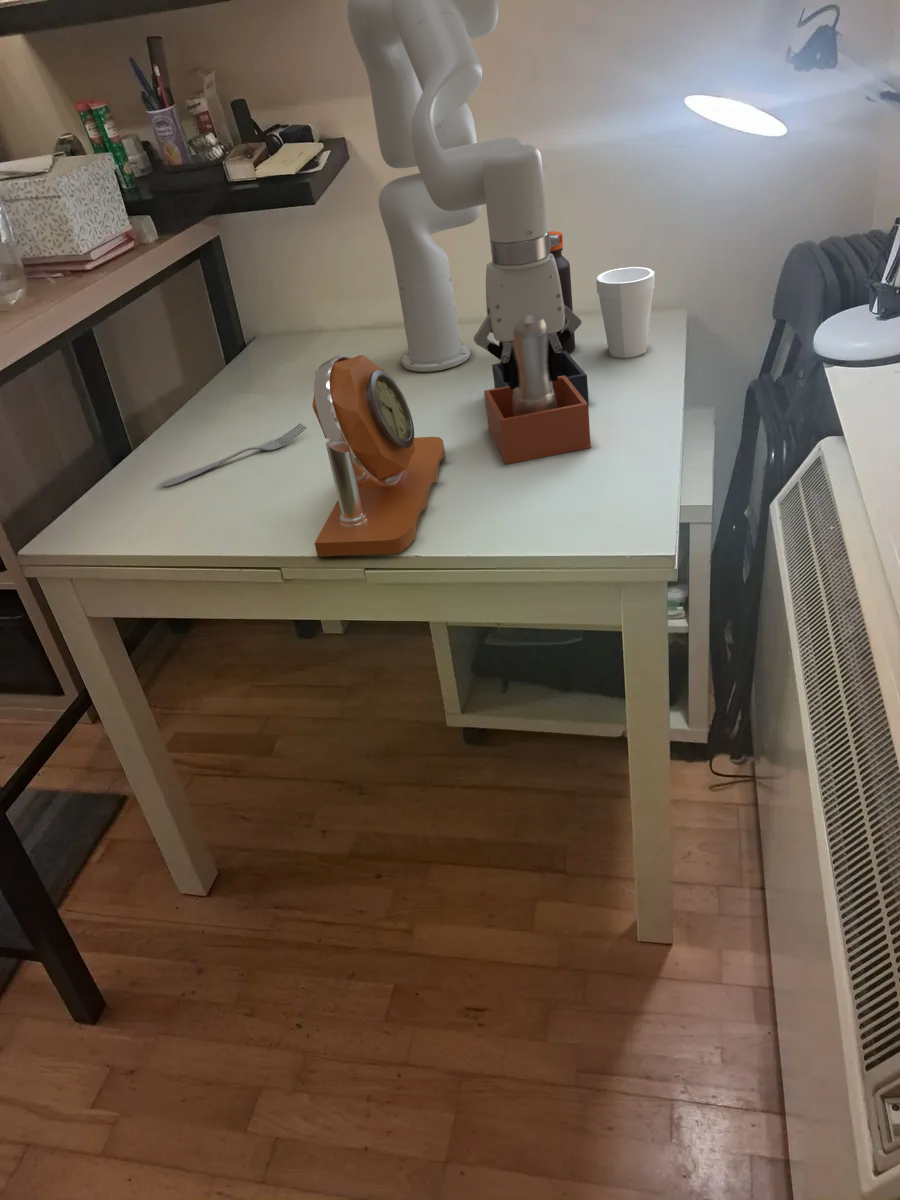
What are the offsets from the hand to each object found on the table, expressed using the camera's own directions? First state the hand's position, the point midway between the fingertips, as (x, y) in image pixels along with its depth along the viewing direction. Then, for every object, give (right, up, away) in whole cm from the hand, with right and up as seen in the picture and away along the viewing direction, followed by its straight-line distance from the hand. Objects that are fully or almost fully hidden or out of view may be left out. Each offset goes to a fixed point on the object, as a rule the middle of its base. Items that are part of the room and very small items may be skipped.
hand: (532, 381), depth 133 cm
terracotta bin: (+1, -8, +5) cm, 9 cm away
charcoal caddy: (+3, +1, +18) cm, 18 cm away
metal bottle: (+1, -6, +4) cm, 7 cm away
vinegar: (+8, +14, +36) cm, 39 cm away
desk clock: (-20, -18, -5) cm, 27 cm away
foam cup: (+19, +12, +30) cm, 38 cm away
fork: (-45, -9, +14) cm, 48 cm away
